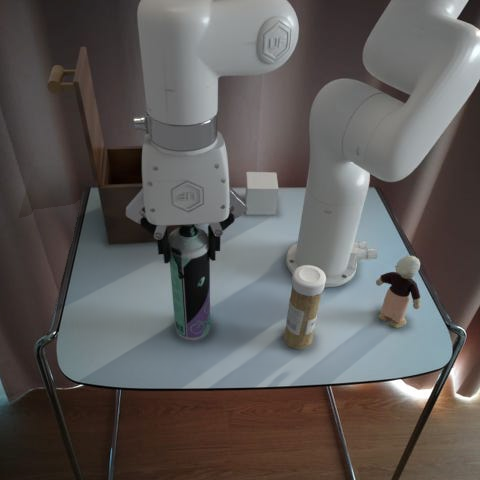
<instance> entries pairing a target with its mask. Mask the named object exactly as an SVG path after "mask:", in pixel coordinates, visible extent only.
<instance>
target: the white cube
mask: <svg viewBox="0 0 480 480" xmlns="http://www.w3.org/2000/svg"><path fill="white" fill-rule="evenodd" d="M279 190H280V189H279V181H278V174H277V172H276V171H275V172H274V171H273V172H272V171H271V172H270V171H269V172H268V171H246V174H245V193H244V201H245V202H246V205H247V211H246V212H245V215H251V216H253V215H255V216H256V215H257V216H258V215H259V216H277V207H278V199H279Z"/></svg>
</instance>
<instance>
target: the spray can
mask: <svg viewBox="0 0 480 480" xmlns="http://www.w3.org/2000/svg"><path fill="white" fill-rule="evenodd" d="M168 247H169V258H170V262H169V271H170V282H171V293H172V305H173V315H174V326H175V332H176V334H177V335H178V336H179V338H181V339H183V340H186V341H192V342H195V341H200V340H203V339H204V338H206V337H207V336H208V335H209V333H210V331H211V262H210V261H211V260H210V253H209V238H208V232H207V231H205V230H204V229H202V228H200V227H197V226H195V224H189V225H181V227H180V228H178V229H176V230H174V231H173V232H172V233H171V234H170V235H169V241H168Z"/></svg>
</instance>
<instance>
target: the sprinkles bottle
mask: <svg viewBox="0 0 480 480" xmlns="http://www.w3.org/2000/svg"><path fill="white" fill-rule="evenodd" d="M325 281H326V276H325V274H324V272H323V271H322V270H321V269H319V268H318V267H315V266H311V265H304V266H300V267H298V268H297V269H295V271H294V272H293V274H292V276H291V291H290V296H289V301H288V307H287V314H286V319H285V330H284V333H283V340H284V343H285V344H286V345H287V346H288V347H290V348H292V349H295V350H304V349H306V348H308V347H309V346H311V344H312V342H313V335H314V331H315V327H316V322H317V319H318V318H317V317H318V312H319V308H320V302H321V297H322V292H323V291H324V290H325V287H324V286H325Z"/></svg>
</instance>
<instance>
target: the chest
mask: <svg viewBox="0 0 480 480" xmlns="http://www.w3.org/2000/svg"><path fill="white" fill-rule="evenodd" d="M142 148H143V145H127V146H126V145H125V146H122V145H121V146H120V145H119V146H104V148H103V158H102V167H101V177H100V185H97V192H98V196H99V201H100V205H101V206H100V207H101V211H102V215H103V216H102V217H103V220H104V226H105V231H106V236H107V241H108V245H122V244H123V245H124V244H141V243H143V244H144V243H157V239H155V238H154V235H153V234H152V233H150V232H149V231H147V230H146V229H144V228H143V227H142V226H141V224H139V223H136V222H135V221H133V220H132V219H130V218H128V217H127V216H126V207H127V206H128V205H129V203H130V202H131V201H132V200H133V199H134V198H135V197H136V195H137V194H138V193H139V192H140V191H141V190H142V188H143V182H142ZM142 211H143V212H144V213H146V212H145V206H144V208H143V209H142ZM180 227H181V225H167V227H166V228H167V232H168V242H169V235H170V234H171V233H172V232H173V231H174V230H176V229H178V228H180Z"/></svg>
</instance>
